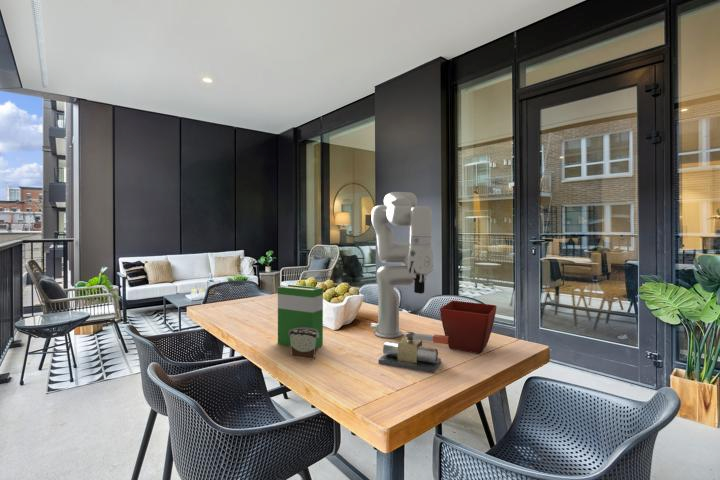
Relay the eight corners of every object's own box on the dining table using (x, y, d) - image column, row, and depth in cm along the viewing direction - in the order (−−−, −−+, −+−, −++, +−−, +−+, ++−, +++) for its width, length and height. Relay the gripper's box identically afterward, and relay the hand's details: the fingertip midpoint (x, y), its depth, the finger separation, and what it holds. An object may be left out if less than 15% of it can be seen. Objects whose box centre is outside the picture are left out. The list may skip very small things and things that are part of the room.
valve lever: (405, 339, 129) (405, 333, 129) (407, 337, 132) (407, 331, 132) (447, 344, 123) (447, 338, 123) (448, 342, 126) (448, 335, 126)
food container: (324, 354, 139) (324, 328, 138) (317, 359, 133) (317, 333, 132) (296, 350, 143) (296, 325, 142) (288, 355, 137) (288, 329, 136)
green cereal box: (277, 343, 152) (277, 286, 151) (288, 338, 158) (288, 284, 158) (312, 350, 144) (312, 290, 143) (322, 344, 150) (322, 287, 150)
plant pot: (488, 358, 135) (489, 314, 135) (438, 350, 145) (439, 308, 144) (496, 344, 152) (497, 305, 151) (451, 337, 161) (451, 300, 161)
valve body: (378, 363, 129) (378, 339, 129) (389, 354, 139) (389, 331, 139) (433, 373, 121) (433, 347, 121) (441, 362, 131) (441, 338, 130)
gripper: (418, 243, 119) (417, 297, 120) (440, 241, 130) (438, 291, 132) (399, 241, 124) (398, 294, 125) (421, 240, 135) (420, 288, 136)
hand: (419, 292), depth 128 cm, fingers closed
